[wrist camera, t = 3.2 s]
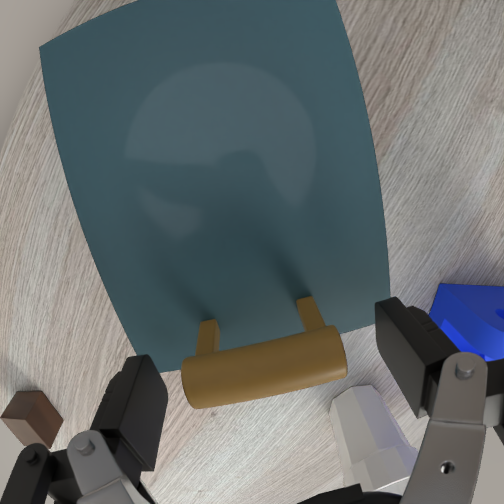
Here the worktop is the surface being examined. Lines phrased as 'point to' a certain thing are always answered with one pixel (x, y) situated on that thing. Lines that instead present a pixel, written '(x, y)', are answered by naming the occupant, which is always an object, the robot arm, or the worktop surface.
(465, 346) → the bracket
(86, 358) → the worktop surface
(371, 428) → the cup
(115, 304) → the lid
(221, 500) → the worktop surface
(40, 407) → the block
